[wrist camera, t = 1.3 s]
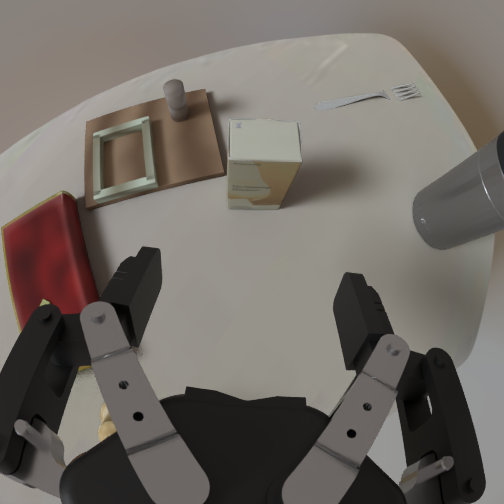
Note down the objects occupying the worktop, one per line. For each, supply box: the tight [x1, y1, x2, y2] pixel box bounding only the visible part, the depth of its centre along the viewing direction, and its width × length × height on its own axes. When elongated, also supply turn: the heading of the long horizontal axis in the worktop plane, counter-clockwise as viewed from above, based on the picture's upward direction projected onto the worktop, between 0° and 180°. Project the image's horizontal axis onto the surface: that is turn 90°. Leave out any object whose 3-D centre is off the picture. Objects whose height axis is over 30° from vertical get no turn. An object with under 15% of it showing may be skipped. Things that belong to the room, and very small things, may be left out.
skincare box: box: [227, 118, 303, 210], centre depth 29 cm, size 6×4×12 cm
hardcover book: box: [1, 191, 100, 371], centre depth 29 cm, size 12×21×4 cm, turn 22°
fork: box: [313, 83, 420, 111], centre depth 39 cm, size 3×24×2 cm, turn 113°
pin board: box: [84, 79, 224, 210], centre depth 32 cm, size 18×14×7 cm
